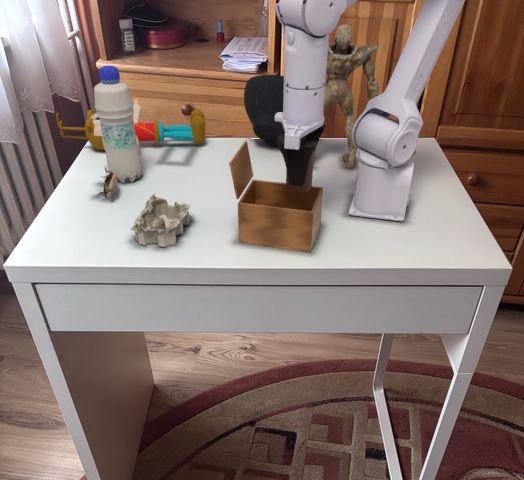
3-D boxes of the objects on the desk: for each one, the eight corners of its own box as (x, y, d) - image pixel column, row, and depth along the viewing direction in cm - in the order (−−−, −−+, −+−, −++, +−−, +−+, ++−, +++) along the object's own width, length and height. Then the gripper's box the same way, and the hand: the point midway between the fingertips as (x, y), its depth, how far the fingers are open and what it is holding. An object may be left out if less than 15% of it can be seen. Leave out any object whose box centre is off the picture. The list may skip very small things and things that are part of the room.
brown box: (238, 242, 89) (237, 203, 84) (253, 217, 95) (252, 179, 90) (310, 252, 86) (313, 212, 82) (320, 225, 93) (323, 187, 88)
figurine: (367, 153, 116) (389, 18, 99) (373, 169, 110) (398, 29, 93) (284, 151, 115) (292, 15, 98) (286, 168, 109) (295, 26, 92)
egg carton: (156, 213, 96) (153, 191, 93) (196, 219, 94) (194, 197, 92) (128, 243, 88) (124, 220, 86) (171, 250, 87) (168, 227, 84)
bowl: (278, 107, 103) (293, 59, 103) (217, 117, 114) (231, 74, 115) (327, 154, 115) (341, 111, 116) (268, 159, 127) (280, 119, 127)
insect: (101, 170, 95) (118, 176, 95) (106, 159, 102) (122, 164, 103) (93, 202, 97) (110, 208, 98) (99, 189, 105) (115, 194, 106)
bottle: (147, 171, 109) (132, 61, 96) (138, 186, 104) (120, 72, 91) (114, 170, 109) (94, 60, 96) (104, 184, 104) (81, 70, 91)
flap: (238, 199, 84) (236, 199, 84) (253, 175, 90) (251, 175, 90) (230, 162, 80) (228, 162, 80) (246, 140, 86) (245, 140, 86)
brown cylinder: (313, 182, 86) (316, 145, 82) (308, 194, 83) (311, 155, 79) (289, 180, 87) (290, 142, 83) (283, 191, 84) (284, 152, 80)
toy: (209, 140, 107) (48, 139, 102) (208, 179, 113) (57, 179, 109) (201, 84, 123) (61, 81, 118) (201, 121, 129) (68, 119, 125)
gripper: (287, 67, 81) (285, 157, 90) (262, 97, 71) (262, 196, 80) (335, 70, 80) (327, 161, 89) (316, 102, 69) (310, 201, 78)
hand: (299, 178), depth 84 cm, fingers closed on brown cylinder, 4 cm apart
